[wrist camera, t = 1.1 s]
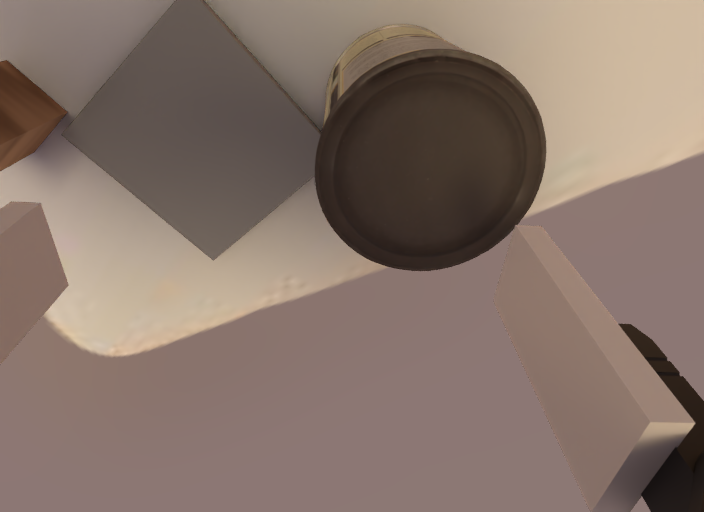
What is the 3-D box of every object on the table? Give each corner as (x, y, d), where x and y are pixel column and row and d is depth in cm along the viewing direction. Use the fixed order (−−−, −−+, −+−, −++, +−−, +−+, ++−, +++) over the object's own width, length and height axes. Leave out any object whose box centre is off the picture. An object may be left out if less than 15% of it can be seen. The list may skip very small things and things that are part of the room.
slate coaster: (67, 131, 33) (61, 134, 32) (191, -14, 28) (187, -14, 27) (215, 255, 38) (213, 260, 38) (338, 151, 34) (338, 155, 33)
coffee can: (489, 132, 33) (572, 218, 21) (365, 193, 36) (376, 301, 24) (437, -11, 28) (506, -5, 16) (297, 70, 31) (268, 128, 19)
